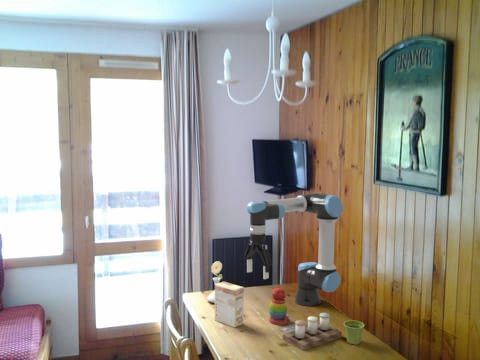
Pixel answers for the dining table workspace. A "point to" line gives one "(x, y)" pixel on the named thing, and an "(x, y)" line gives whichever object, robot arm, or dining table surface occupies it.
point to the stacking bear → (278, 307)
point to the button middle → (312, 325)
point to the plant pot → (353, 331)
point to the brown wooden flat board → (312, 341)
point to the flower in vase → (215, 269)
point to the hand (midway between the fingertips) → (257, 275)
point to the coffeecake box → (229, 304)
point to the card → (288, 328)
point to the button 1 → (300, 328)
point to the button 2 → (324, 321)
